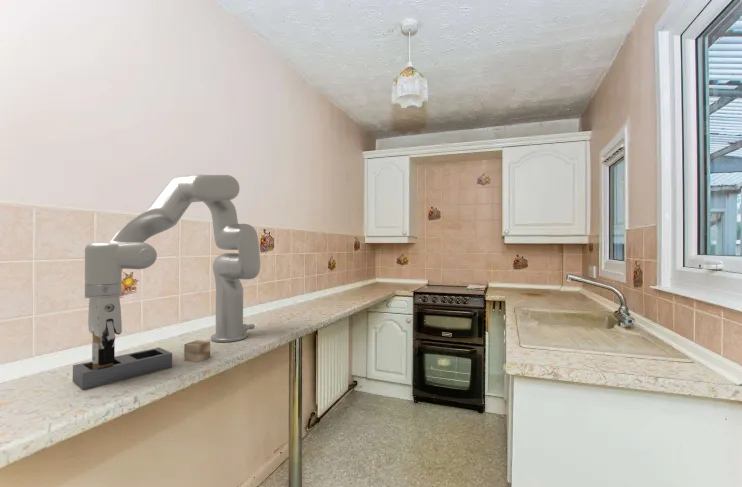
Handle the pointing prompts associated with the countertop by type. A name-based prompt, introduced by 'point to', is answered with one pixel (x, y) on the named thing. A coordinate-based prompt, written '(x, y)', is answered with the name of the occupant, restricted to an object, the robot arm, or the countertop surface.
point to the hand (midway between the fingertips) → (103, 361)
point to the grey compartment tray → (122, 368)
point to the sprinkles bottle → (97, 351)
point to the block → (197, 351)
